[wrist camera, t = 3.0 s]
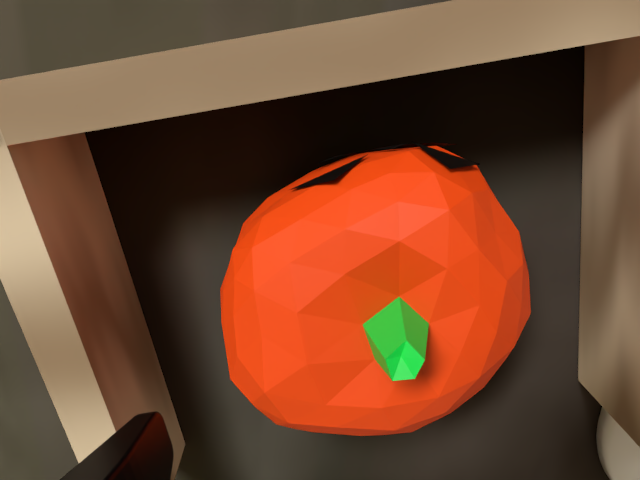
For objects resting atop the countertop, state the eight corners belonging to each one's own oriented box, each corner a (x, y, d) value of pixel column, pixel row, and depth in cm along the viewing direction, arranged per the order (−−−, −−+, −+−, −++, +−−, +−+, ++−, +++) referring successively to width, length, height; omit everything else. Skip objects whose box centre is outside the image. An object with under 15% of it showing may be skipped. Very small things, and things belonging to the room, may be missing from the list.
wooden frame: (613, 374, 16) (694, 451, 13) (151, 449, 16) (113, 544, 13) (632, -18, 12) (757, -53, 9) (22, 89, 12) (-78, 93, 9)
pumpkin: (191, 252, 15) (81, 343, 8) (405, 92, 13) (465, 58, 7) (327, 420, 16) (320, 610, 10) (537, 288, 15) (688, 407, 8)
